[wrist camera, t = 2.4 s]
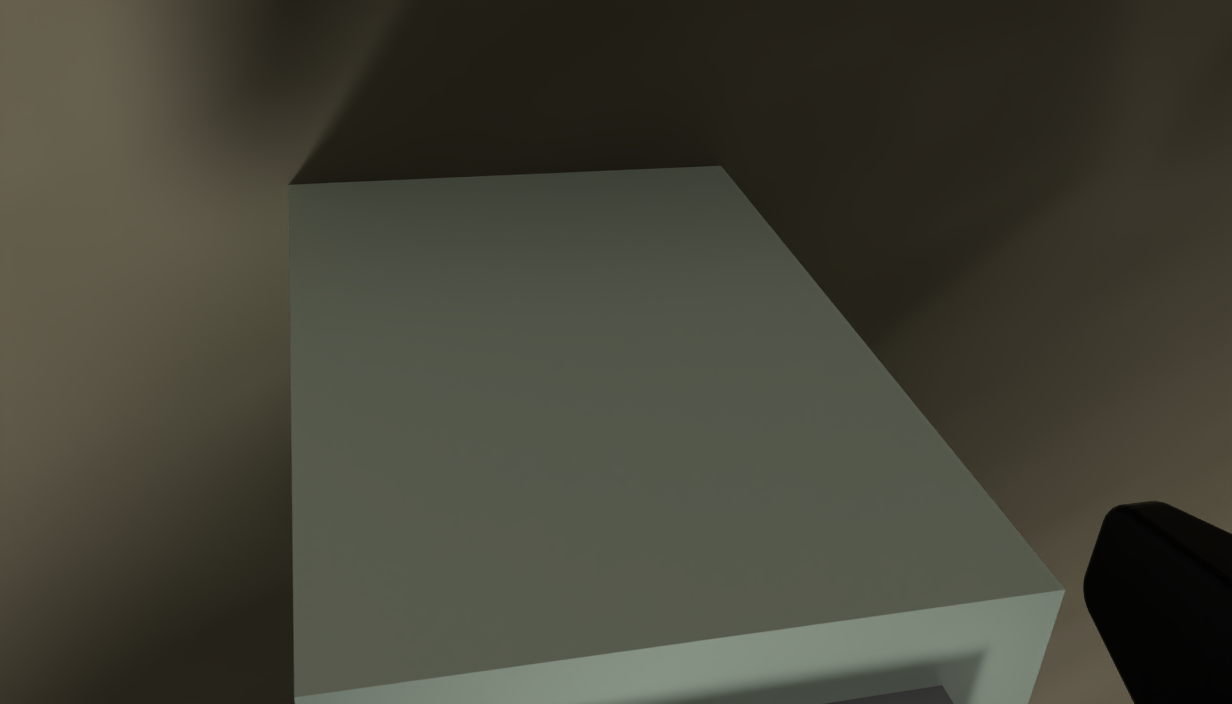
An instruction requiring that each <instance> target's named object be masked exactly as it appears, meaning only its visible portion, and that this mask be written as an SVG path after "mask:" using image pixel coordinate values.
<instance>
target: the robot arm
mask: <svg viewBox="0 0 1232 704" xmlns="http://www.w3.org/2000/svg"><path fill="white" fill-rule="evenodd" d="M1083 591H1084V598H1085V602H1086V606H1087V608H1088V611H1089V613H1090V615H1091V617H1092V619H1093V621H1094V623H1095V625H1096V627H1097V629H1098V631H1099V633H1100V635H1101V637H1102V639H1103V641H1104V644H1105V646H1106V648H1107V650H1108V652H1109V654H1110V656H1111V658H1112V660H1113V662H1114V664H1115V666H1116V668H1117V670H1118V672H1119V674H1120V676H1121V678H1122V680H1123V682H1124V684H1125V686H1126V688H1127V690H1128V692H1129V694H1130V696H1131V698H1132V700H1133V702H1134V704H1232V534H1231V533H1229V532H1226V531H1224V530H1222V529H1220V528H1218V527H1216V526H1214V525H1211V524H1209V523H1207V522H1205V521H1203V520H1201V519H1199V518H1196V517H1194V516H1192V515H1190V514H1188V513H1186V512H1184V511H1181V510H1179V509H1177V508H1175V507H1173V506H1171V505H1169V504H1166V503H1163V502H1158V501H1148V502H1140V503H1132V504H1123V505H1118V506H1116V507H1114V508H1112V509H1111V510H1110V511H1109V512H1108V513H1107V515H1106V516H1105V518H1104V520H1103V523H1102V526H1101V529H1100V532H1099V535H1098V538H1097V541H1096V544H1095V547H1094V550H1093V553H1092V556H1091V559H1090V562H1089V565H1088V568H1087V571H1086V574H1085V577H1084V584H1083Z"/></svg>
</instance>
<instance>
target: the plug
mask: <svg viewBox="0 0 1232 704" xmlns="http://www.w3.org/2000/svg"><path fill="white" fill-rule="evenodd" d="M289 271H290V362H291V452H292V543H293V634H294V700H295V704H1028V702H1029V699H1030V696H1031V693H1032V690H1033V687H1034V684H1035V681H1036V678H1037V675H1038V672H1039V669H1040V666H1041V663H1042V660H1043V657H1044V654H1045V651H1046V648H1047V645H1048V642H1049V639H1050V636H1051V632H1052V629H1053V626H1054V623H1055V620H1056V617H1057V614H1058V611H1059V608H1060V605H1061V602H1062V599H1063V596H1064V593H1065V590H1066V589H1065V588H1064V587H1063V586H1062V585H1061V583H1060V582H1059V581H1058V580H1057V578H1056V577H1055V576H1054V575H1053V573H1052V572H1051V571H1050V570H1049V569H1048V567H1047V566H1046V565H1045V564H1044V562H1043V561H1042V560H1041V559H1040V558H1039V556H1038V555H1037V554H1036V553H1035V551H1034V550H1033V549H1032V548H1031V546H1030V545H1029V544H1028V543H1027V542H1026V540H1025V539H1024V538H1023V537H1022V535H1021V534H1020V533H1019V532H1018V530H1017V529H1016V528H1015V527H1014V526H1013V524H1012V523H1011V522H1010V521H1009V519H1008V518H1007V517H1006V516H1005V514H1004V513H1003V512H1002V511H1001V510H1000V508H999V507H998V506H997V505H996V503H995V502H994V501H993V500H992V498H991V497H990V496H989V495H988V494H987V492H986V491H985V490H984V489H983V487H982V486H981V485H980V484H979V482H978V481H977V480H976V479H975V478H974V476H973V475H972V474H971V473H970V471H969V470H968V469H967V468H966V466H965V465H964V464H963V463H962V462H961V460H960V459H959V458H958V457H957V455H956V454H955V453H954V452H953V450H952V449H951V448H950V447H949V446H948V444H947V443H946V442H945V441H944V439H943V438H942V437H941V436H940V434H939V433H938V432H937V431H936V430H935V428H934V427H933V426H932V425H931V423H930V422H929V421H928V420H927V419H926V417H925V416H924V415H923V414H922V412H921V411H920V410H919V409H918V407H917V406H916V405H915V404H914V403H913V401H912V400H911V399H910V398H909V396H908V395H907V394H906V393H905V391H904V390H903V389H902V388H901V387H900V385H899V384H898V383H897V382H896V380H895V379H894V378H893V377H892V375H891V374H890V373H889V372H888V371H887V369H886V368H885V367H884V366H883V364H882V363H881V362H880V361H879V359H878V358H877V357H876V356H875V355H874V353H873V352H872V351H871V350H870V348H869V347H868V346H867V345H866V343H865V342H864V341H863V340H862V339H861V337H860V336H859V335H858V334H857V332H856V331H855V330H854V329H853V327H852V326H851V325H850V324H849V323H848V321H847V320H846V319H845V318H844V316H843V315H842V314H841V313H840V311H839V310H838V309H837V308H836V307H835V305H834V304H833V303H832V302H831V300H830V299H829V298H828V297H827V296H826V294H825V293H824V292H823V291H822V289H821V288H820V287H819V286H818V284H817V283H816V282H815V281H814V280H813V278H812V277H811V276H810V275H809V273H808V272H807V271H806V270H805V268H804V267H803V266H802V265H801V264H800V262H799V261H798V260H797V259H796V257H795V256H794V255H793V254H792V252H791V251H790V250H789V249H788V248H787V246H786V245H785V244H784V243H783V241H782V240H781V239H780V238H779V236H778V235H777V234H776V233H775V232H774V230H773V229H772V228H771V227H770V225H769V224H768V223H767V222H766V220H765V219H764V218H763V217H762V216H761V214H760V213H759V212H758V211H757V209H756V208H755V207H754V206H753V204H752V203H751V202H750V201H749V200H748V198H747V197H746V196H745V195H744V193H743V192H742V191H741V190H740V188H739V187H738V186H737V185H736V184H735V182H734V181H733V180H732V179H731V177H730V176H729V175H728V174H727V172H726V171H725V170H724V169H723V168H722V166H704V167H681V168H658V169H636V170H613V171H590V172H568V173H545V174H522V175H500V176H477V177H454V178H432V179H409V180H386V181H364V182H341V183H318V184H296V185H289Z"/></svg>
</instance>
